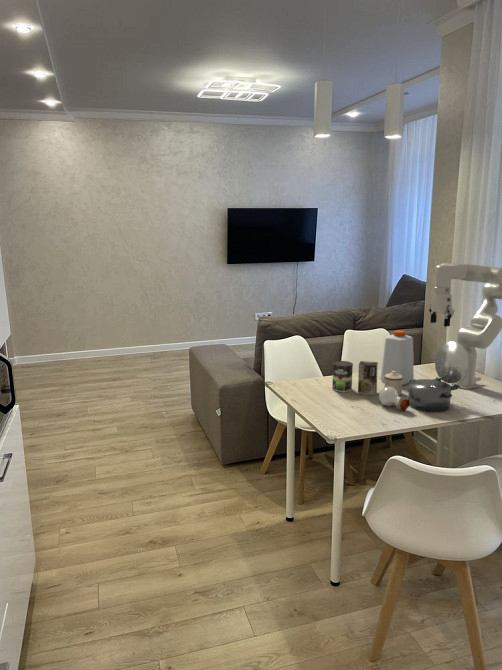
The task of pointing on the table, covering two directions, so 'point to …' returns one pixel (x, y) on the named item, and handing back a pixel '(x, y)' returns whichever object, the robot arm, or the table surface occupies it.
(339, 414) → the table surface
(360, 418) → the table surface
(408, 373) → the plastic bottle
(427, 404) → the pot
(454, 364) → the lid
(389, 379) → the teacup with lid
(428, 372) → the table surface
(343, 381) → the coffee can
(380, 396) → the potion bottle
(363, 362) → the coffee box
